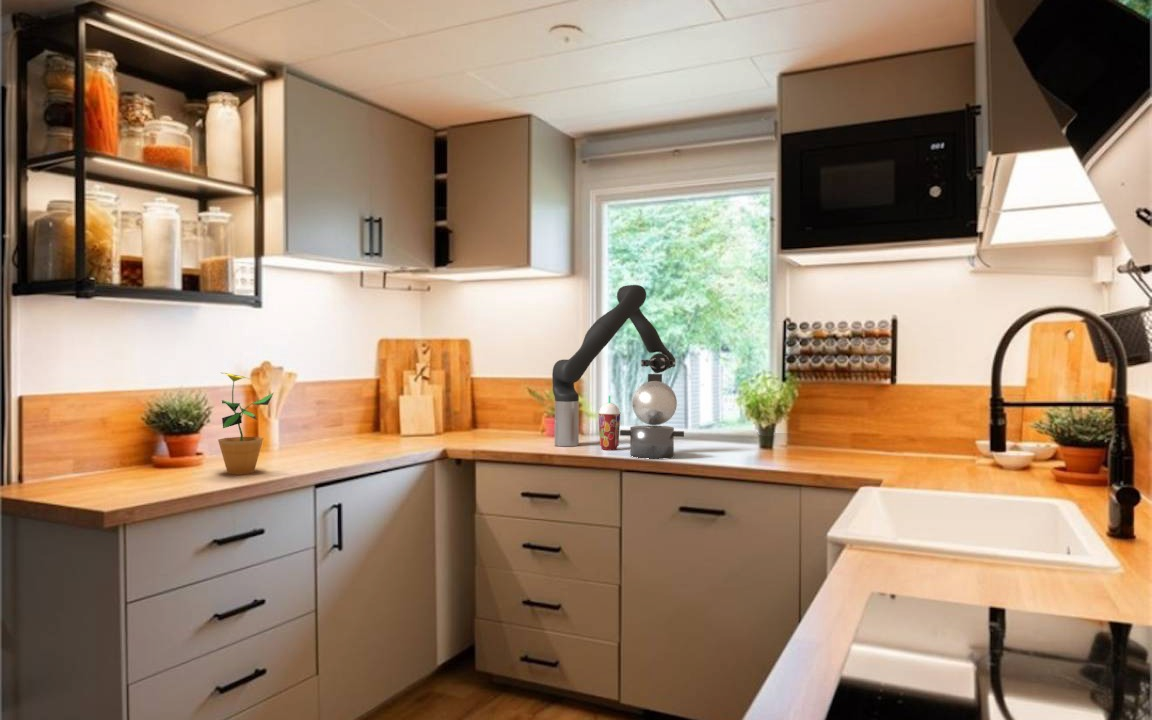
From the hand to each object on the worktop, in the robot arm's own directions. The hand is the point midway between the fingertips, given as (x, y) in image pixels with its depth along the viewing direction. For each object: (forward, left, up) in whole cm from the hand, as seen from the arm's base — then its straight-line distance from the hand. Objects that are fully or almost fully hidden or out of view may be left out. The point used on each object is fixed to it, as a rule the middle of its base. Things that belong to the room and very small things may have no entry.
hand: (656, 363), depth 288 cm
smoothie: (-18, -2, -32) cm, 37 cm away
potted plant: (-130, -59, -32) cm, 146 cm away
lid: (-2, -10, -13) cm, 17 cm away
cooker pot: (-4, -21, -32) cm, 39 cm away
